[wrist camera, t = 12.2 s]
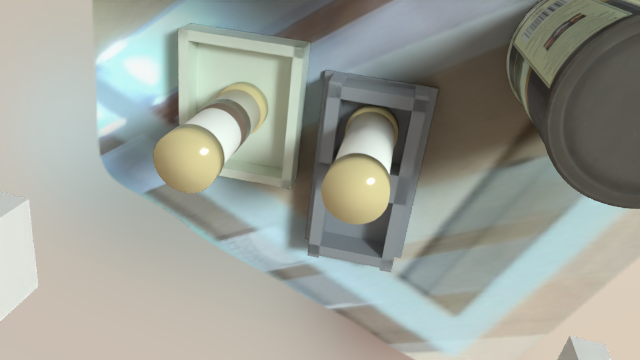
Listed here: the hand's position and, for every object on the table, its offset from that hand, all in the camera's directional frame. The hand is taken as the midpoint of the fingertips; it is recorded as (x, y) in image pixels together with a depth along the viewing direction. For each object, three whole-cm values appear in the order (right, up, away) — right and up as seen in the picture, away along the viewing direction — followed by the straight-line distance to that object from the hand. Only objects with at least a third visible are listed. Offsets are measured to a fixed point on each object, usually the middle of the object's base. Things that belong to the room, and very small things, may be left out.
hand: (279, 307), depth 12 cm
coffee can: (+20, +12, +25) cm, 35 cm away
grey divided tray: (+5, +4, +32) cm, 33 cm away
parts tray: (-5, +10, +32) cm, 33 cm away
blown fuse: (-5, +9, +31) cm, 33 cm away
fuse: (+5, +7, +30) cm, 31 cm away
